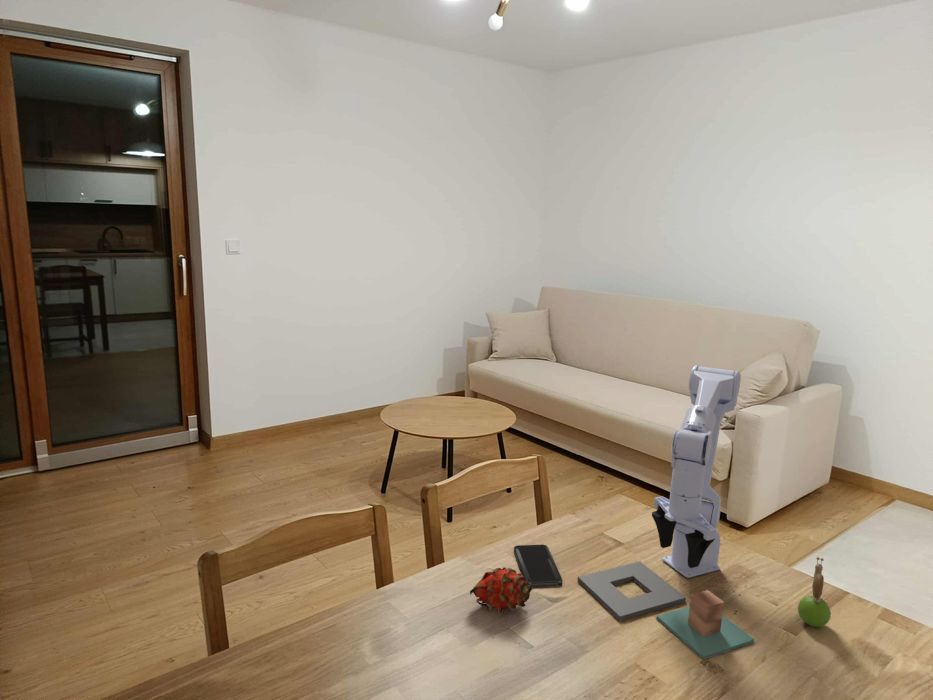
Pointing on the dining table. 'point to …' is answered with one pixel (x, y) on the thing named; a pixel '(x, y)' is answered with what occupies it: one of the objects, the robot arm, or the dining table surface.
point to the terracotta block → (705, 613)
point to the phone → (537, 565)
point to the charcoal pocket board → (626, 607)
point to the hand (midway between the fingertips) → (679, 556)
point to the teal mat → (709, 644)
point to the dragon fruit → (502, 590)
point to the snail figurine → (815, 602)
